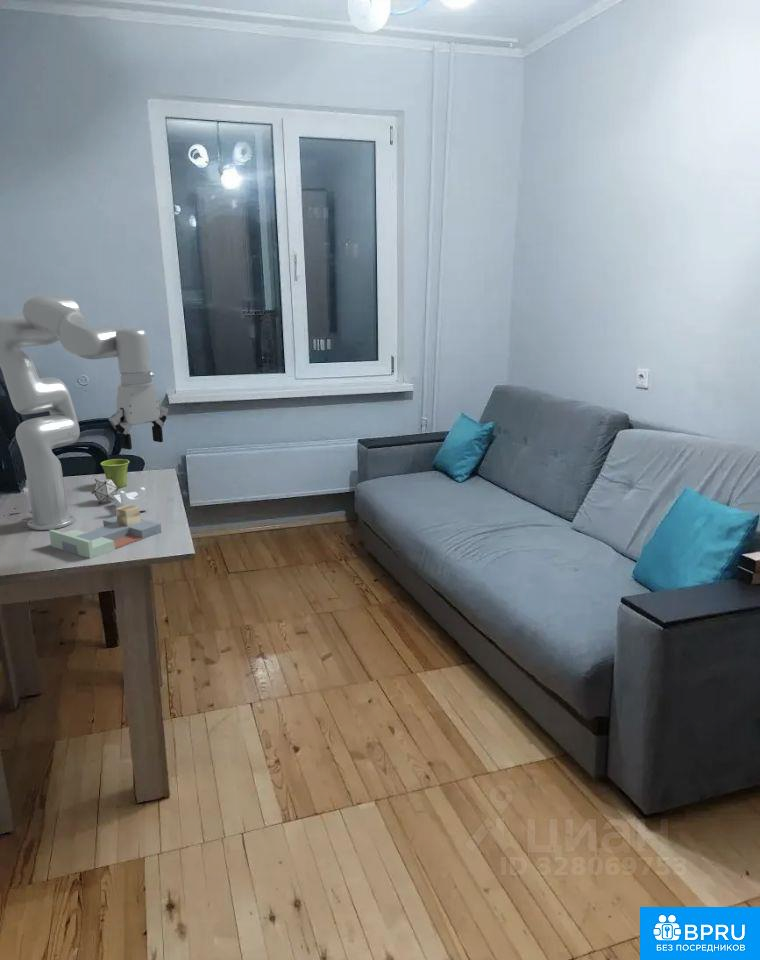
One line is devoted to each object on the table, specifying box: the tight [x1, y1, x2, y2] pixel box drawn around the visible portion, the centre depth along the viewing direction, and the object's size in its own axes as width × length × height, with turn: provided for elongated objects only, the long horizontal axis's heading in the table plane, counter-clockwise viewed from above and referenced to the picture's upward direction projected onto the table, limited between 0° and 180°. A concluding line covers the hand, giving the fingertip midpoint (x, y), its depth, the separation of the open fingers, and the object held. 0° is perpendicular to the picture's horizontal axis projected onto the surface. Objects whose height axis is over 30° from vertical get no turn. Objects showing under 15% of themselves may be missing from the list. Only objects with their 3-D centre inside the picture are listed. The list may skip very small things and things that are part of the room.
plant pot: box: [100, 458, 130, 488], centre depth 240 cm, size 9×9×9 cm
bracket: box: [113, 486, 149, 512], centre depth 216 cm, size 13×7×8 cm, turn 34°
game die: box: [90, 477, 121, 505], centre depth 222 cm, size 9×8×10 cm
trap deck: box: [48, 515, 162, 559], centre depth 190 cm, size 17×23×4 cm
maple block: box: [115, 505, 142, 526], centre depth 196 cm, size 4×4×4 cm
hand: (142, 445), depth 177 cm, fingers open, 9 cm apart
